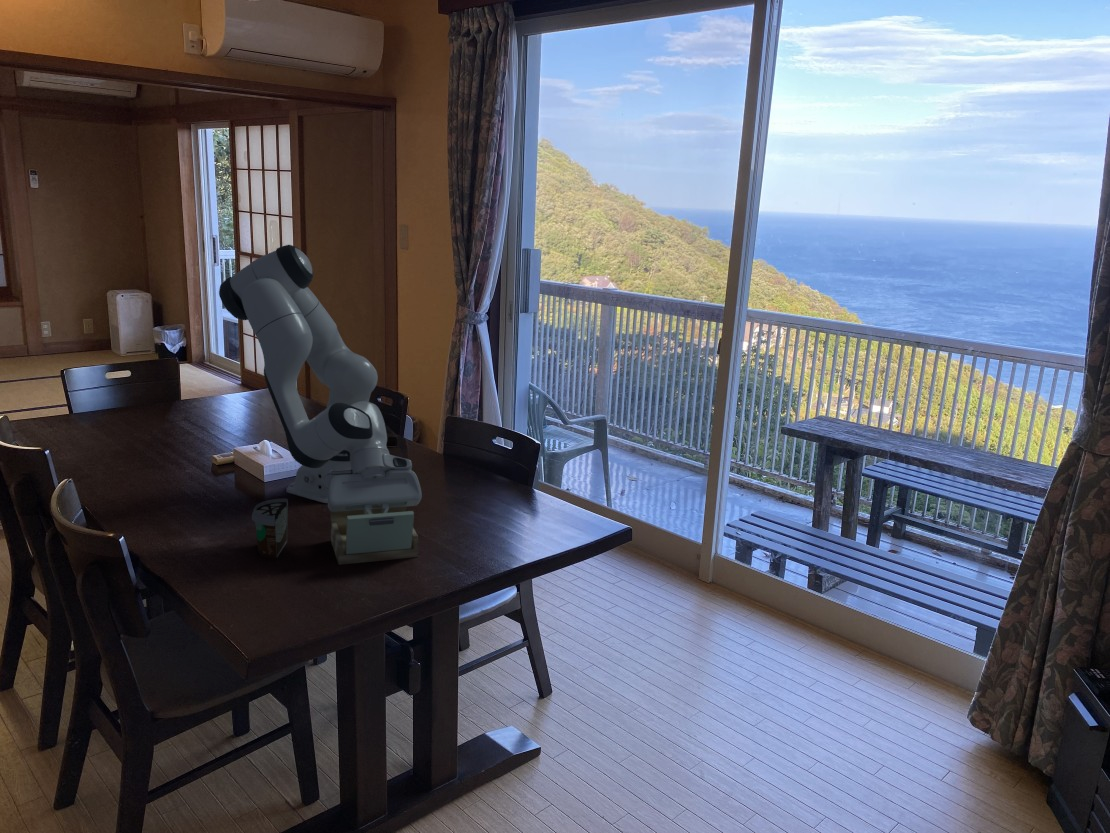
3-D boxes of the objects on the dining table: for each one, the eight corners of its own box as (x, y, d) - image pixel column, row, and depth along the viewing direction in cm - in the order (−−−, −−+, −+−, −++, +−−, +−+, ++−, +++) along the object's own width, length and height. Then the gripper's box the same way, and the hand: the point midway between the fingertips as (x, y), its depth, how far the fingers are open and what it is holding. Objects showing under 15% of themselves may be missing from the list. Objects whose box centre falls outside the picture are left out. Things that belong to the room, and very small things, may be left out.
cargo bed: (330, 540, 184) (330, 507, 182) (404, 534, 190) (405, 502, 189) (338, 564, 171) (338, 529, 170) (417, 556, 178) (418, 523, 176)
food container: (261, 538, 183) (260, 496, 181) (288, 538, 183) (288, 497, 181) (245, 560, 171) (244, 516, 169) (275, 560, 171) (274, 516, 169)
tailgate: (345, 550, 172) (347, 515, 168) (409, 544, 178) (413, 510, 173) (346, 556, 171) (348, 521, 166) (411, 550, 176) (414, 516, 172)
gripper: (324, 464, 173) (330, 523, 166) (418, 459, 180) (427, 515, 174) (322, 478, 178) (328, 535, 171) (413, 472, 185) (422, 527, 179)
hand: (378, 525), depth 172 cm, fingers closed, pressing on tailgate
